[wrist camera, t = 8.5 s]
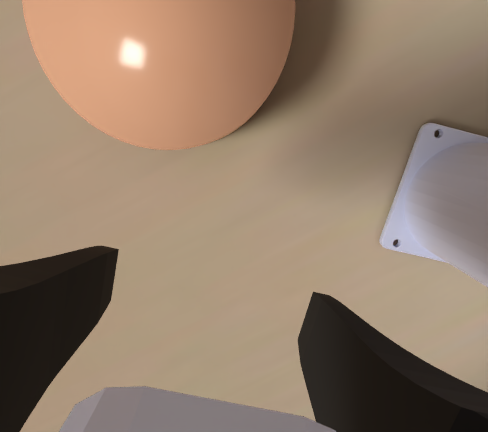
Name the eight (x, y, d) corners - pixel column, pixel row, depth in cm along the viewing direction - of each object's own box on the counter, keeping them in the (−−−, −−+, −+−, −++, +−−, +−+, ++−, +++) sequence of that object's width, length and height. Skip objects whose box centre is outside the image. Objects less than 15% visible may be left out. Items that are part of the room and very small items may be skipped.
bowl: (309, -54, 17) (329, -110, 13) (254, 167, 20) (257, 175, 16) (82, -121, 16) (32, -202, 12) (59, 119, 19) (13, 116, 15)
